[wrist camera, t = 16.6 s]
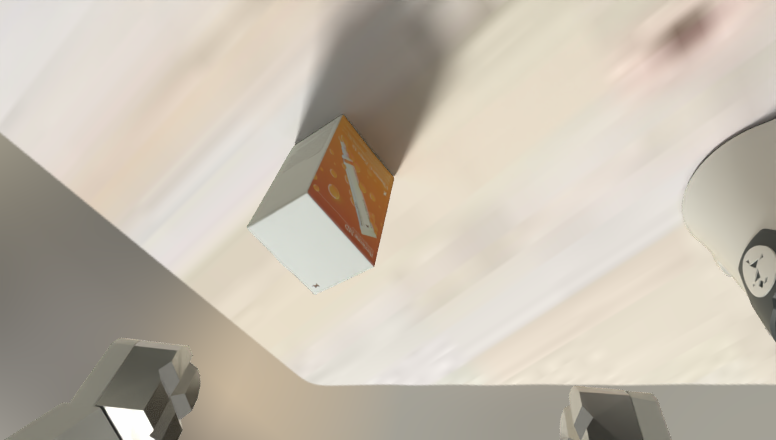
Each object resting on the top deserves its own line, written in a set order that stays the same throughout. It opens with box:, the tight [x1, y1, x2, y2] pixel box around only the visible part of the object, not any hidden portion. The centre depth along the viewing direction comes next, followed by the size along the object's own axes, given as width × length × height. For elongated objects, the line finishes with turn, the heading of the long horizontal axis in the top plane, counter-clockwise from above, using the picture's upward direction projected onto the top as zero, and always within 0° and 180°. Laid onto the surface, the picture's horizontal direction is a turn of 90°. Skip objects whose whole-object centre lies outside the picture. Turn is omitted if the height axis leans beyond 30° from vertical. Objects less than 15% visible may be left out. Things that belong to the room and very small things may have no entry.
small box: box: [247, 115, 394, 295], centre depth 42 cm, size 8×6×13 cm
